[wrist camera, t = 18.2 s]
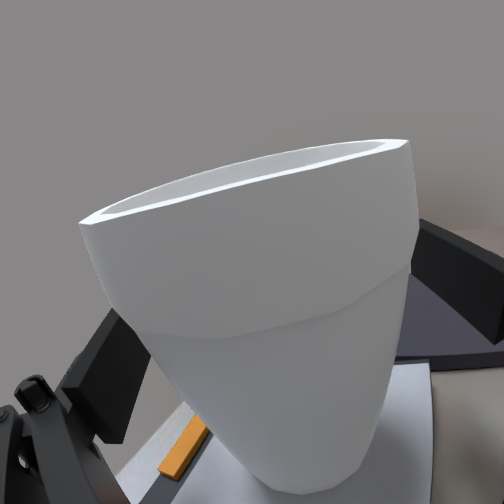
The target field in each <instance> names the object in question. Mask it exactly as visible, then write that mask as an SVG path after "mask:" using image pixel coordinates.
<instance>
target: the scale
mask: <svg viewBox="0 0 504 504" xmlns="http://www.w3.org/2000/svg"><path fill="white" fill-rule="evenodd" d="M433 456H434V422H433V399H432V385H431V373H430V364H429V359H422V360H408V361H394V365H393V369H392V373H391V377H390V381H389V385H388V389H387V393H386V396H385V400H384V404H383V407H382V411H381V414H380V417H379V420H378V424H377V427H376V430H375V433H374V436H373V439H372V441H371V444H370V447H369V449H368V451H367V453H366V455H365V457H364V459H363V461H362V463H361V465H360V467H359V469H358V470H357V471H356V472H354V473H353V474H352V475H351V476H349V477H348V478H347V479H345V480H344V481H343V482H341V483H340V484H339V485H337V486H336V487H334V488H331V489H328V490H324V491H320V492H315V493H311V494H307V495H297V494H291V493H285V492H280V491H275V490H272V489H271V488H269V487H268V486H267V485H265V484H264V483H263V482H261V481H260V480H259V479H258V478H256V477H255V476H254V475H253V474H252V473H251V472H249V471H248V470H247V469H246V468H245V467H244V466H243V465H242V464H241V463H240V462H239V461H238V460H237V459H236V458H235V457H234V456H233V455H232V454H231V453H230V452H229V451H228V449H227V448H226V447H225V446H224V445H223V444H222V443H221V442H220V441H219V440H218V439H217V438H216V436H215V435H214V434H213V433H212V432H211V431H210V430H209V429H208V427H207V426H206V425H205V424H204V423H203V422H202V420H201V419H200V418H199V417H198V416H197V415H196V414H195V416H194V417H193V419H192V420H191V422H190V423H189V425H188V426H187V428H186V429H185V430H184V432H183V433H182V435H181V436H180V438H179V439H178V441H177V442H176V443H175V445H174V446H173V448H172V449H171V451H170V452H169V453H168V455H167V456H166V458H165V459H164V461H163V462H162V463H161V465H160V466H159V468H158V469H157V470H158V471H159V472H160V473H161V474H160V475H159V476H158V478H157V479H156V481H155V482H154V484H153V485H152V486H151V488H150V489H149V490H148V492H147V493H146V495H145V496H144V497H143V499H142V500H141V501H140V503H139V504H430V502H431V492H432V479H433Z"/></svg>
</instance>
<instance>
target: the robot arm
mask: <svg viewBox="0 0 504 504" xmlns="http://www.w3.org/2000/svg"><path fill="white" fill-rule="evenodd" d="M411 274H412V275H413V276H414V277H416V278H417V279H418V280H419V281H421V282H422V283H423V284H424V285H425V286H427V287H428V288H429V289H430V290H432V291H433V292H434V293H435V294H436V295H438V296H439V297H440V298H441V299H442V300H444V301H445V302H446V303H447V304H448V305H449V306H451V307H452V308H453V309H454V310H455V311H456V312H457V313H459V314H460V315H461V316H462V317H463V318H464V319H465V320H467V321H468V322H469V323H470V324H471V325H472V326H473V327H474V328H475V329H477V330H478V331H479V332H480V333H481V334H482V335H483V336H484V337H485V338H486V339H487V340H489V341H490V342H491V343H492V344H493V345H496V344H498V343H499V342H501V341H502V340H504V258H503V257H500V256H499V255H497V254H495V253H493V252H491V251H488V250H486V249H484V248H482V247H480V246H478V245H476V244H474V243H472V242H470V241H468V240H466V239H464V238H462V237H460V236H458V235H456V234H454V233H452V232H449V231H447V230H445V229H443V228H441V227H439V226H437V225H434V224H432V223H430V222H428V221H425V220H423V219H419V232H418V236H417V240H416V244H415V247H414V251H413V255H412V258H411ZM150 358H151V355H150V353H149V352H148V350H147V349H146V348H145V346H144V345H143V343H142V342H141V340H140V339H139V337H138V336H137V334H136V333H135V331H134V330H133V329H132V328H131V327H130V326H129V325H128V324H127V323H126V322H125V321H124V320H123V319H122V317H121V316H120V315H119V314H118V313H117V312H116V311H115V310H114V309H113V308H111V310H110V311H109V313H108V314H107V316H106V317H105V319H104V320H103V322H102V323H101V325H100V326H99V328H98V329H97V331H96V332H95V334H94V335H93V337H92V338H91V340H90V341H89V343H88V344H87V346H86V347H85V349H84V350H83V351H82V352H81V353H80V354H79V355H78V356H77V357H76V358H75V360H74V361H73V363H72V364H71V367H70V368H69V369H68V371H67V372H66V373H67V374H65V375H64V377H63V379H62V380H61V382H60V384H59V385H58V387H57V389H56V390H55V392H53V391H52V390H51V388H50V387H49V385H48V384H47V382H46V381H45V379H44V378H43V376H41V375H33V376H30V377H28V378H27V379H25V380H23V381H22V382H21V383H20V384H19V385H18V386H17V388H16V390H15V393H14V396H15V397H16V398H17V400H18V401H19V402H20V404H21V405H22V406H23V408H24V409H25V410H26V411H27V413H25V414H21V415H19V414H18V412H17V411H16V410H15V408H14V407H13V406H11V405H6V406H3V407H1V408H0V504H131V503H130V502H129V500H128V498H127V497H126V495H125V494H124V492H123V491H122V489H121V487H120V486H119V484H118V482H117V481H116V479H115V477H114V476H113V474H112V472H111V470H110V469H109V467H108V465H107V463H106V461H105V460H104V458H103V456H102V454H101V452H100V450H99V448H98V447H97V445H96V444H95V443H94V442H93V439H94V436H95V434H97V435H98V437H99V438H100V439H101V440H102V441H103V442H104V443H105V444H122V443H123V440H124V437H125V434H126V430H127V427H128V424H129V420H130V417H131V414H132V411H133V408H134V405H135V402H136V399H137V396H138V392H139V390H140V387H141V384H142V381H143V378H144V375H145V372H146V369H147V366H148V363H149V360H150ZM18 456H19V457H20V458H21V459H22V460H23V461H24V462H25V468H24V467H23V466H22V465H21V464H20V462H19V457H18ZM503 504H504V501H503Z"/></svg>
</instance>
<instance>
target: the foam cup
mask: <svg viewBox="0 0 504 504" xmlns="http://www.w3.org/2000/svg"><path fill="white" fill-rule="evenodd" d="M78 225H79V228H80V231H81V234H82V237H83V240H84V243H85V245H86V248H87V251H88V253H89V256H90V258H91V261H92V264H93V266H94V269H95V271H96V274H97V276H98V279H99V281H100V283H101V286H102V288H103V290H104V293H105V295H106V297H107V300H108V302H109V304H110V306H111V307H112V308H113V309H114V310H115V311H116V312H117V313H118V314H119V315H120V316H121V317H122V319H123V320H124V321H125V322H126V323H127V324H128V325H129V326H130V327H131V328H132V329H133V330H134V331H135V333H136V334H137V336H138V337H139V339H140V340H141V342H142V343H143V345H144V346H145V348H146V349H147V350H148V352H149V353H150V355H151V356H152V357H153V359H154V360H155V362H156V363H157V364H158V366H159V367H160V369H161V370H162V371H163V373H164V374H165V375H166V377H167V378H168V379H169V381H170V382H171V383H172V385H173V386H174V387H175V388H176V390H177V391H178V392H179V394H180V395H181V396H182V397H183V399H184V400H185V401H186V402H187V404H188V405H189V406H190V407H191V409H192V410H193V411H194V412H195V413H196V415H197V416H198V417H199V418H200V419H201V420H202V422H203V423H204V424H205V425H206V426H207V427H208V429H209V430H210V431H211V432H212V433H213V434H214V435H215V436H216V438H217V439H218V440H219V441H220V442H221V443H222V444H223V445H224V446H225V447H226V448H227V449H228V451H229V452H230V453H231V454H232V455H233V456H234V457H235V458H236V459H237V460H238V461H239V462H240V463H241V464H242V465H243V466H244V467H245V468H246V469H247V470H248V471H249V472H251V473H252V474H253V475H254V476H255V477H256V478H258V479H259V480H260V481H261V482H263V483H264V484H265V485H267V486H268V487H269V488H271V489H272V490H275V491H280V492H285V493H291V494H297V495H307V494H311V493H315V492H320V491H324V490H328V489H331V488H334V487H336V486H337V485H339V484H340V483H341V482H343V481H344V480H345V479H347V478H348V477H349V476H351V475H352V474H353V473H354V472H356V471H357V470H358V469H359V467H360V465H361V463H362V461H363V459H364V457H365V455H366V453H367V451H368V449H369V447H370V444H371V441H372V439H373V436H374V433H375V430H376V427H377V424H378V420H379V417H380V414H381V411H382V407H383V404H384V400H385V396H386V393H387V389H388V385H389V381H390V377H391V373H392V369H393V365H394V360H395V356H396V351H397V346H398V341H399V336H400V331H401V325H402V319H403V313H404V307H405V300H406V293H407V285H408V277H409V268H410V261H411V258H412V255H413V251H414V247H415V244H416V240H417V236H418V232H419V214H418V204H417V194H416V184H415V176H414V168H413V162H412V155H411V149H410V143H409V140H396V139H382V140H381V139H379V140H366V141H354V142H345V143H338V144H332V145H324V146H318V147H311V148H305V149H300V150H294V151H289V152H284V153H279V154H274V155H269V156H265V157H260V158H256V159H252V160H247V161H243V162H240V163H235V164H232V165H228V166H224V167H220V168H216V169H213V170H209V171H206V172H203V173H199V174H196V175H192V176H189V177H186V178H183V179H179V180H176V181H173V182H170V183H167V184H164V185H162V186H159V187H156V188H153V189H150V190H148V191H145V192H142V193H140V194H137V195H134V196H131V197H129V198H126V199H124V200H122V201H119V202H117V203H115V204H113V205H110V206H108V207H106V208H103V209H101V210H99V211H97V212H95V213H93V214H92V215H90V216H88V217H87V218H85V219H84V220H82V221H80V222H79V223H78Z"/></svg>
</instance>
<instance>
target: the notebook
mask: <svg viewBox="0 0 504 504" xmlns="http://www.w3.org/2000/svg"><path fill="white" fill-rule="evenodd" d="M422 359H429V364H430V370H451V369H469V368H482V367H493V366H503V365H504V340H502V341H501V342H499V343H498V344H496V345H493V344H492V343H491V342H490V341H489V340H487V339H486V338H485V337H484V336H483V335H482V334H481V333H480V332H479V331H478V330H477V329H475V328H474V327H473V326H472V325H471V324H470V323H469V322H468V321H467V320H465V319H464V318H463V317H462V316H461V315H460V314H459V313H457V312H456V311H455V310H454V309H453V308H452V307H451V306H449V305H448V304H447V303H446V302H445V301H444V300H442V299H441V298H440V297H439V296H438V295H436V294H435V293H434V292H433V291H432V290H430V289H429V288H428V287H427V286H425V285H424V284H423V283H422V282H421V281H419V280H418V279H417V278H416V277H414V276H413V275H412V274H409V277H408V285H407V293H406V300H405V307H404V313H403V319H402V325H401V331H400V336H399V341H398V346H397V351H396V356H395V360H394V361H408V360H422Z"/></svg>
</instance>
